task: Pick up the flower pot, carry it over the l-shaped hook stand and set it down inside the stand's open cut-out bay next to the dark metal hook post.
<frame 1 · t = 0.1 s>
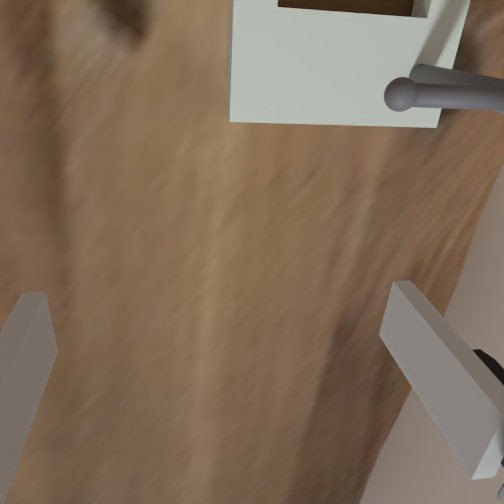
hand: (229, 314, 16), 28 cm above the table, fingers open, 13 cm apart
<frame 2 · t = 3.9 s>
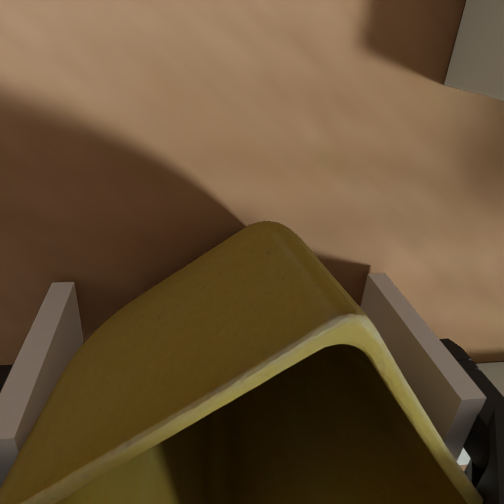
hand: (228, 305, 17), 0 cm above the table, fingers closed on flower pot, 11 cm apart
flower pot: (227, 297, 17), on the table, touching gripper
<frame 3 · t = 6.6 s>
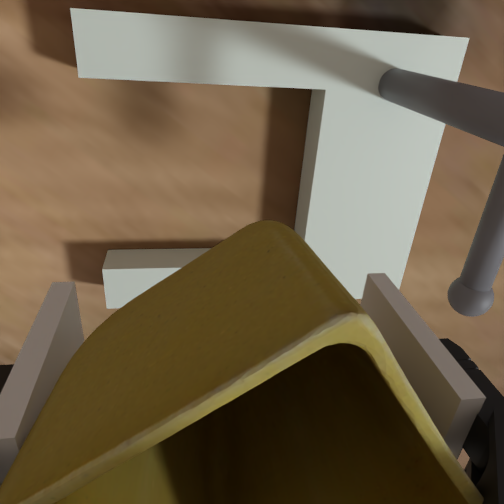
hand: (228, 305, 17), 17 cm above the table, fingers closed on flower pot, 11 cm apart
l-shaped hook stand: (263, 172, 32), on the table
flower pot: (228, 296, 17), point 16 cm above the table, touching gripper
when the fingers open (2 cm above the table, at t = 9.5 s): flower pot moves 2 cm, resting in l-shaped hook stand.
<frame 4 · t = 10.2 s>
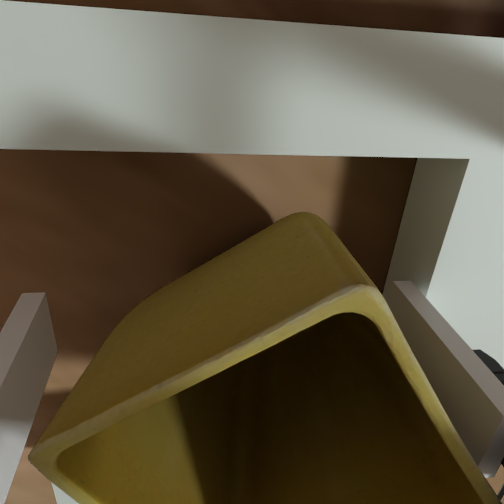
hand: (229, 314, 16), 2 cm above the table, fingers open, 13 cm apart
l-shaped hook stand: (324, 280, 19), on the table
flower pot: (262, 287, 18), resting in l-shaped hook stand, touching gripper
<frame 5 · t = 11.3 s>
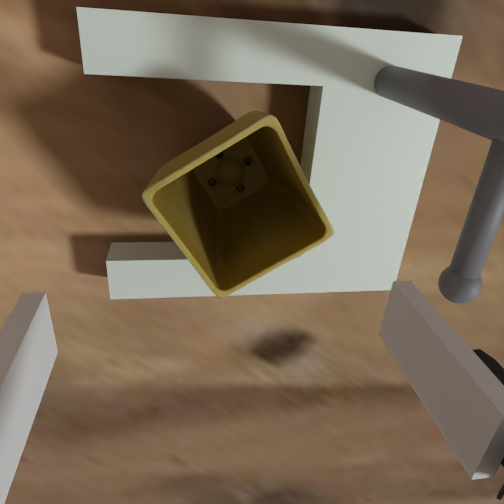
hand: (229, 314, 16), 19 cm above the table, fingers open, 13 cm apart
l-shaped hook stand: (262, 167, 33), on the table
flower pot: (227, 168, 33), resting in l-shaped hook stand
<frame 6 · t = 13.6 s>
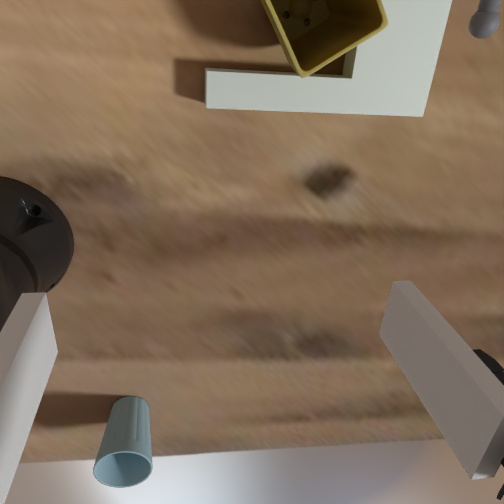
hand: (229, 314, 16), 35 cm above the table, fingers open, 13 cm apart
l-shaped hook stand: (324, 4, 43), on the table
cup: (130, 407, 66), on the table
flower pot: (297, 5, 42), resting in l-shaped hook stand
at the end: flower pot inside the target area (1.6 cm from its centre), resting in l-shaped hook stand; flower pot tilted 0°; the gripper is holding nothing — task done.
